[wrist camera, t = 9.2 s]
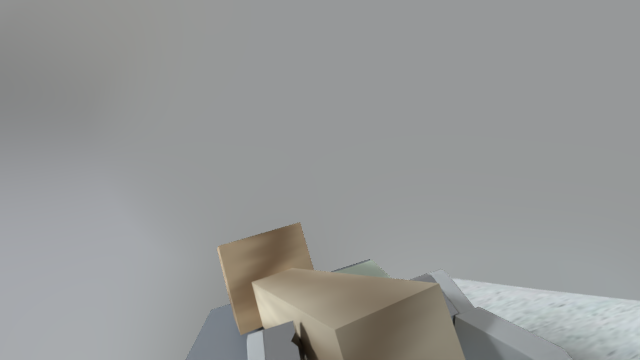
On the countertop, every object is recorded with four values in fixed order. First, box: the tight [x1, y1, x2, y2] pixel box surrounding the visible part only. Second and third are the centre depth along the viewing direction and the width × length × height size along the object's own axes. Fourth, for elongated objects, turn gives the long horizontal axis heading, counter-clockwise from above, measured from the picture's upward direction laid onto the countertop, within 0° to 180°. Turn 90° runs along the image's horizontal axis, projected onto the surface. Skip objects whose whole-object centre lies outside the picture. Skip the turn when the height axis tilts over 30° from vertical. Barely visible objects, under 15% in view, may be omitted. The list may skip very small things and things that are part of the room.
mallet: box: [217, 223, 465, 360], centre depth 18 cm, size 6×23×6 cm, turn 22°
